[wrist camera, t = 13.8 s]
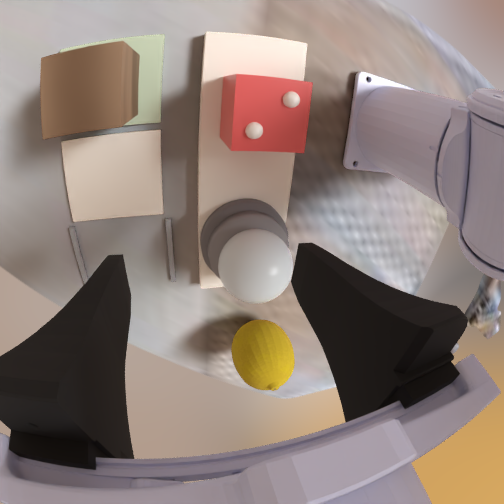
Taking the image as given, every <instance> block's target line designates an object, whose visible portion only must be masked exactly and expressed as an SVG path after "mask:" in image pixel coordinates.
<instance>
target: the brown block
mask: <svg viewBox="0 0 504 504" xmlns="http://www.w3.org/2000/svg"><path fill="white" fill-rule="evenodd" d="M139 61H140V55H139V54H138V53H137V52H136V51H135V50H133V49H132V48H131V47H130V46H129V45H128V44H127V43H125V42H124V41H118V42H111V43H104V44H99V45H93V46H88V47H83V48H78V49H74V50H69V51H65V52H61V53H57V54H53V55H50V56H46V57H43V58H41V77H40V101H41V124H42V137H43V140H44V139H48V138H53V137H58V136H64V135H69V134H75V133H81V132H87V131H94V130H101V129H109V128H118V127H122V126H123V125H125V124H126V123H127V122H129V121H130V120H131V119H133V118H134V117H135V116H137V115H138V84H139Z"/></svg>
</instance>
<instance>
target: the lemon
mask: <svg viewBox="0 0 504 504" xmlns="http://www.w3.org/2000/svg"><path fill="white" fill-rule="evenodd" d="M231 350H232V358H233V362H234V365H235V368H236V370H237V372H238V373H239V375H240V376H241V378H242V379H243V380H244V381H245V382H246V383H247V384H248V385H250V386H252V387H254V388H256V389H260V390H272V391H274V390H277V389H278V388H279V387H280V386H281V385H283V384H284V383H285V382H286V381H287V380H288V379H289V377H290V376H291V374H292V372H293V369H294V363H295V362H294V352H293V348H292V344H291V342H290V340H289V338H288V336H287V335H286V333H285V332H284V331H283V329H282V328H280V327H279V326H278V325H276V324H275V323H273V322H270V321H267V320H253V321H250V322H248V323H246V324H244V325H243V326H242V327H241V328H240V329H239V330H238V331H237V332H236V334H235V336H234V338H233V342H232V348H231Z"/></svg>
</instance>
